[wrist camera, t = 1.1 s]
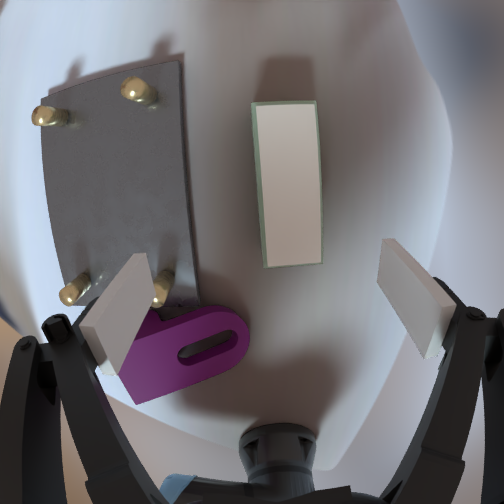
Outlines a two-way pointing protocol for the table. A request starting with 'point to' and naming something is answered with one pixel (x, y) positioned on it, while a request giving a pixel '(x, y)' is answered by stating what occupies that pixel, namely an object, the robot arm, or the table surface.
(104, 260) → the chassis plate
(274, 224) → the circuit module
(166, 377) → the mounting bracket
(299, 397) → the table surface
